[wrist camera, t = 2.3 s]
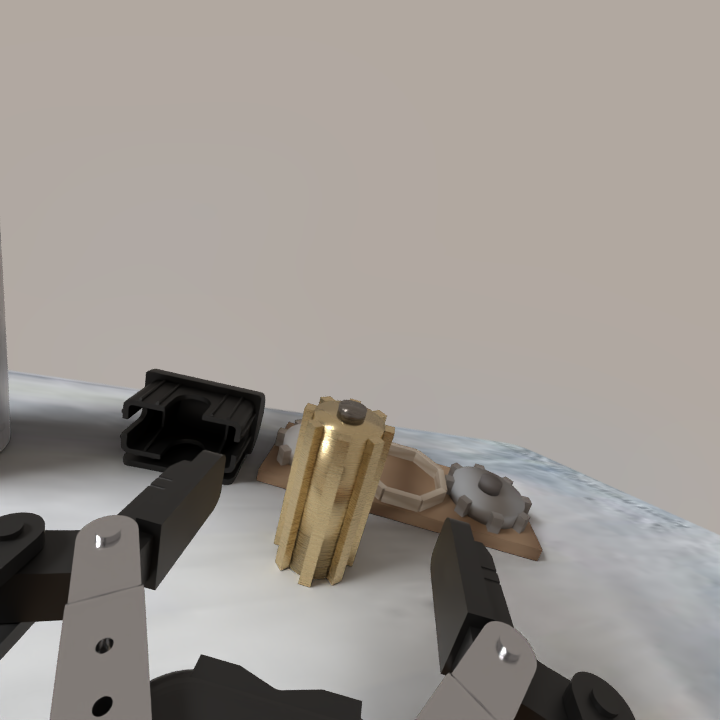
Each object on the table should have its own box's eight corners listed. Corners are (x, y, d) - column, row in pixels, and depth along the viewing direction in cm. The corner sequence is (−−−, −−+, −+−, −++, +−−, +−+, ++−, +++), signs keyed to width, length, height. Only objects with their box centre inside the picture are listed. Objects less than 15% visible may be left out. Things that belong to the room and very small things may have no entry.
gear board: (256, 480, 32) (263, 444, 31) (286, 431, 41) (293, 401, 40) (537, 561, 31) (554, 527, 30) (507, 494, 40) (520, 465, 39)
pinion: (261, 572, 24) (296, 414, 20) (287, 512, 30) (318, 378, 26) (347, 598, 24) (397, 442, 20) (357, 532, 29) (398, 401, 26)
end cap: (258, 442, 38) (269, 383, 35) (237, 488, 31) (249, 417, 29) (158, 421, 37) (163, 359, 35) (113, 463, 30) (117, 388, 28)
